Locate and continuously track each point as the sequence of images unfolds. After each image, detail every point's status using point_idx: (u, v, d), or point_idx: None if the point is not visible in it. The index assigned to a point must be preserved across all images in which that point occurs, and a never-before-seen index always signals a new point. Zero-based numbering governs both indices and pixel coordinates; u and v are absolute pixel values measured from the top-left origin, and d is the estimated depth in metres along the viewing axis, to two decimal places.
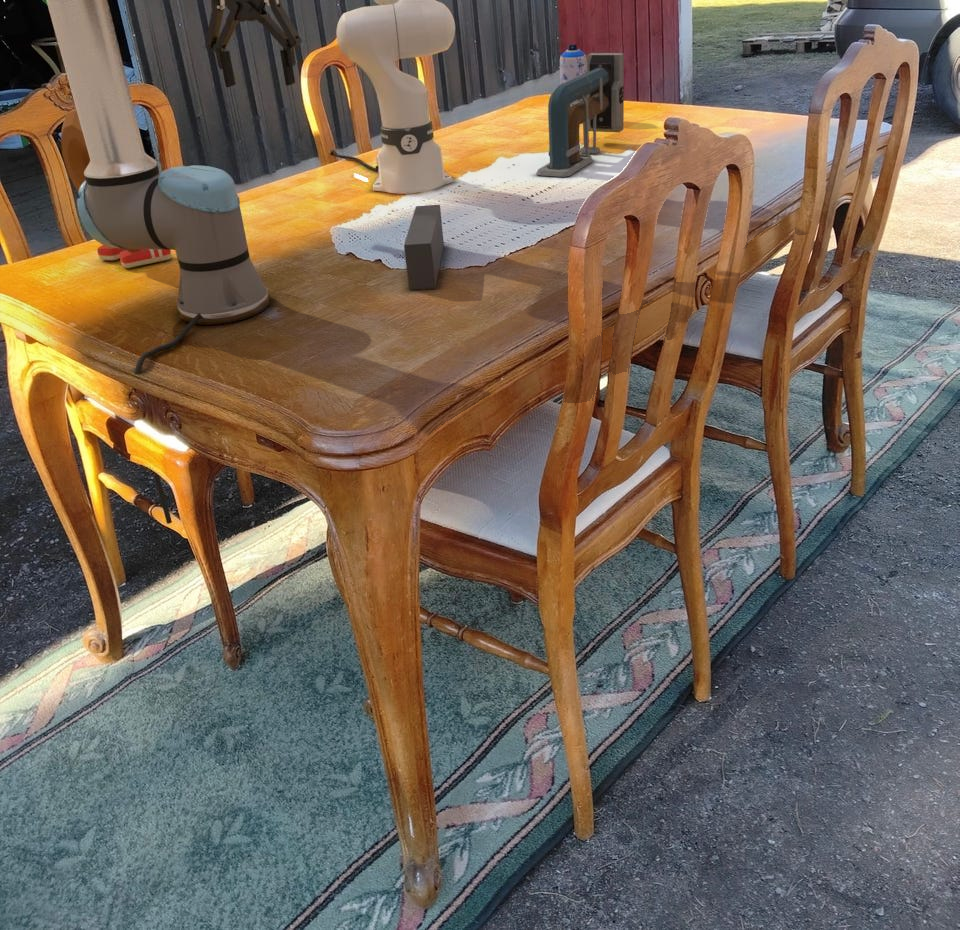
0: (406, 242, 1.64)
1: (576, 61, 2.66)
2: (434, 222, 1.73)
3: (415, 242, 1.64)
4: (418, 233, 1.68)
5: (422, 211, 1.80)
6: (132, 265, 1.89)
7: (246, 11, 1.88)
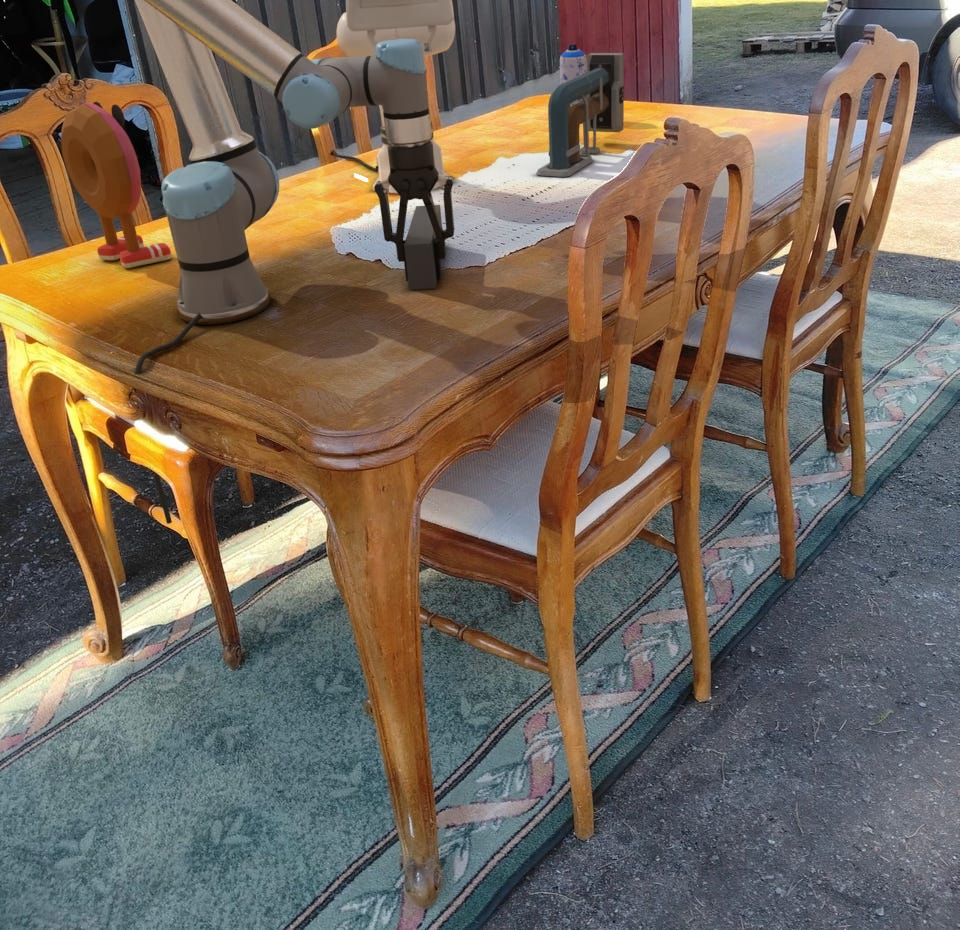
0: (406, 242, 1.64)
1: (576, 61, 2.66)
2: None
3: (416, 242, 1.64)
4: (418, 233, 1.68)
5: (422, 211, 1.80)
6: (132, 265, 1.89)
7: (416, 189, 1.62)
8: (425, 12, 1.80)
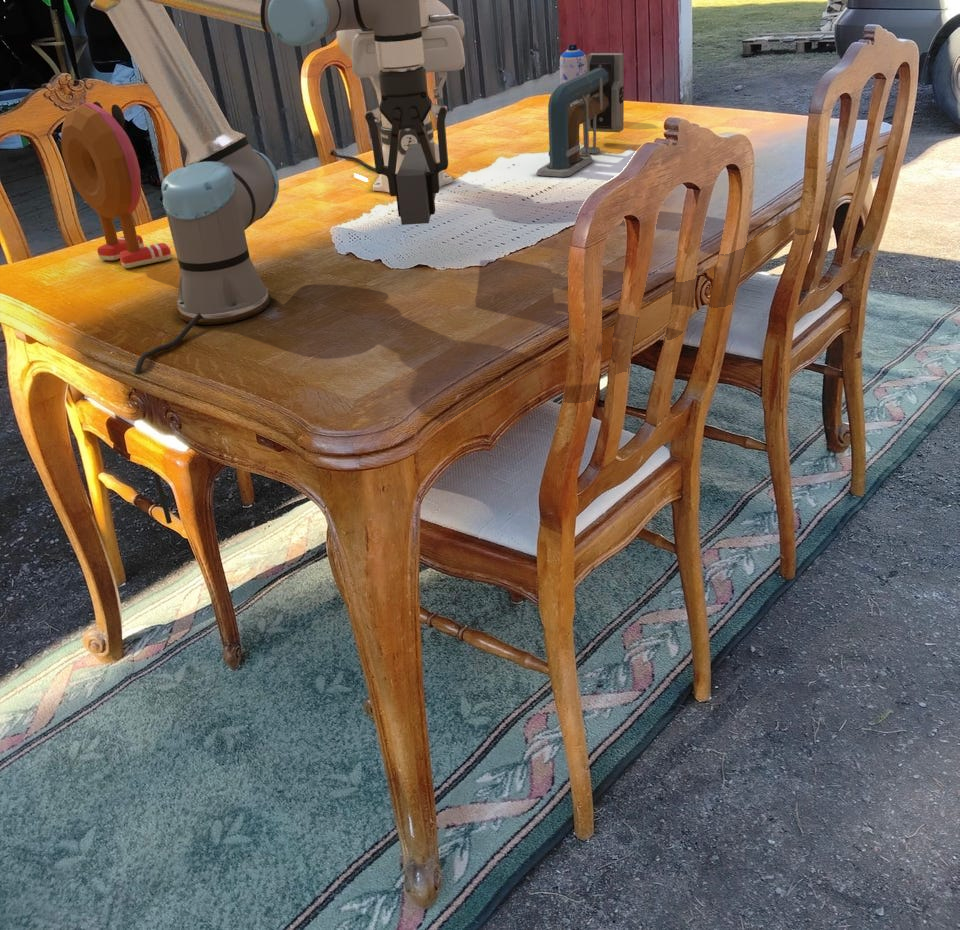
0: (398, 174, 1.58)
1: (576, 61, 2.66)
2: None
3: (408, 173, 1.58)
4: (411, 166, 1.62)
5: (415, 148, 1.74)
6: (132, 265, 1.89)
7: (409, 118, 1.56)
8: (435, 57, 1.71)
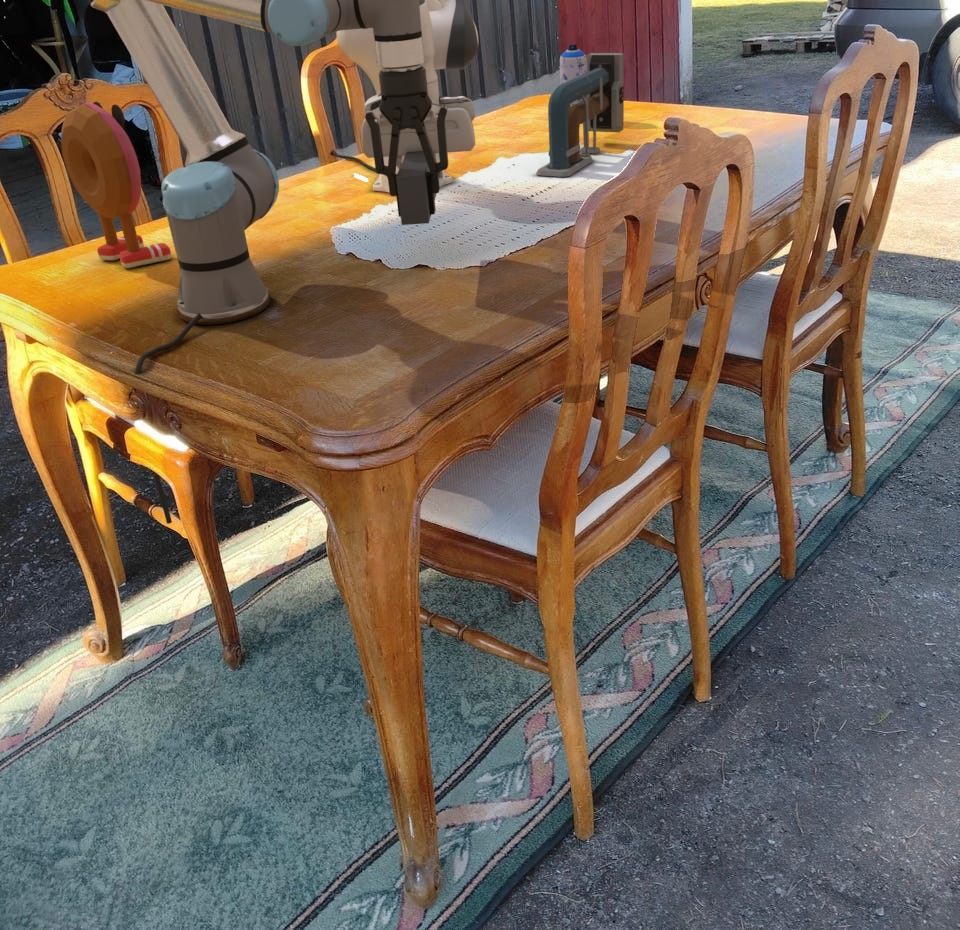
0: (398, 174, 1.58)
1: (576, 61, 2.66)
2: None
3: (408, 174, 1.58)
4: (411, 166, 1.62)
5: None
6: (132, 265, 1.89)
7: (409, 118, 1.56)
8: (446, 138, 1.71)
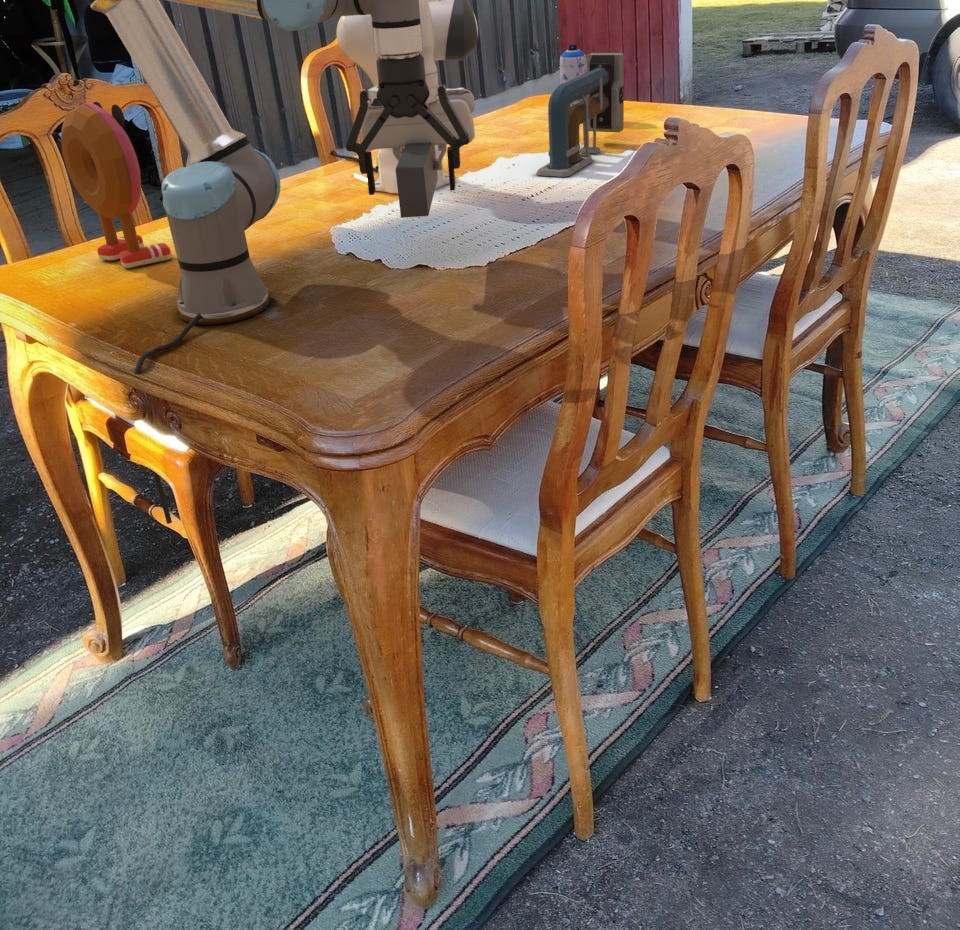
0: (398, 167, 1.58)
1: (576, 61, 2.66)
2: (427, 149, 1.67)
3: (407, 166, 1.58)
4: (411, 159, 1.62)
5: None
6: (132, 265, 1.89)
7: (406, 106, 1.55)
8: None
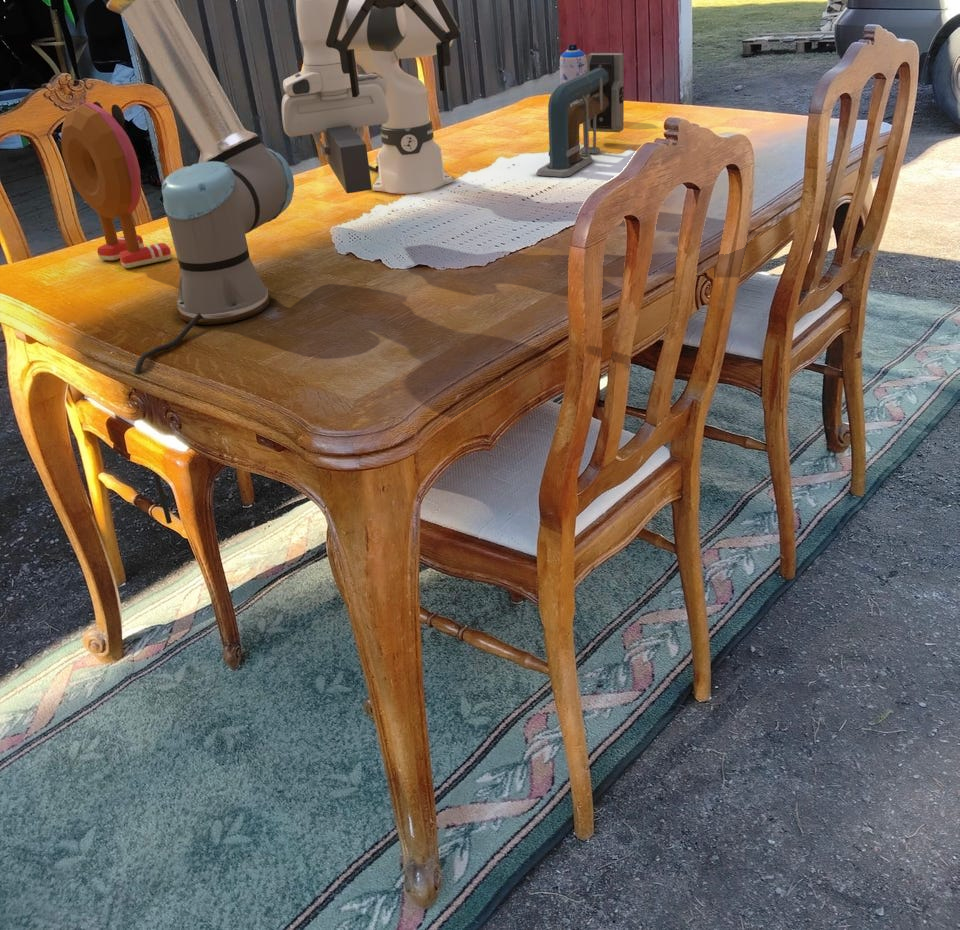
0: (340, 145, 1.70)
1: (576, 61, 2.66)
2: (353, 130, 1.79)
3: (350, 144, 1.70)
4: (346, 139, 1.74)
5: None
6: (132, 265, 1.89)
7: None
8: (363, 113, 1.83)
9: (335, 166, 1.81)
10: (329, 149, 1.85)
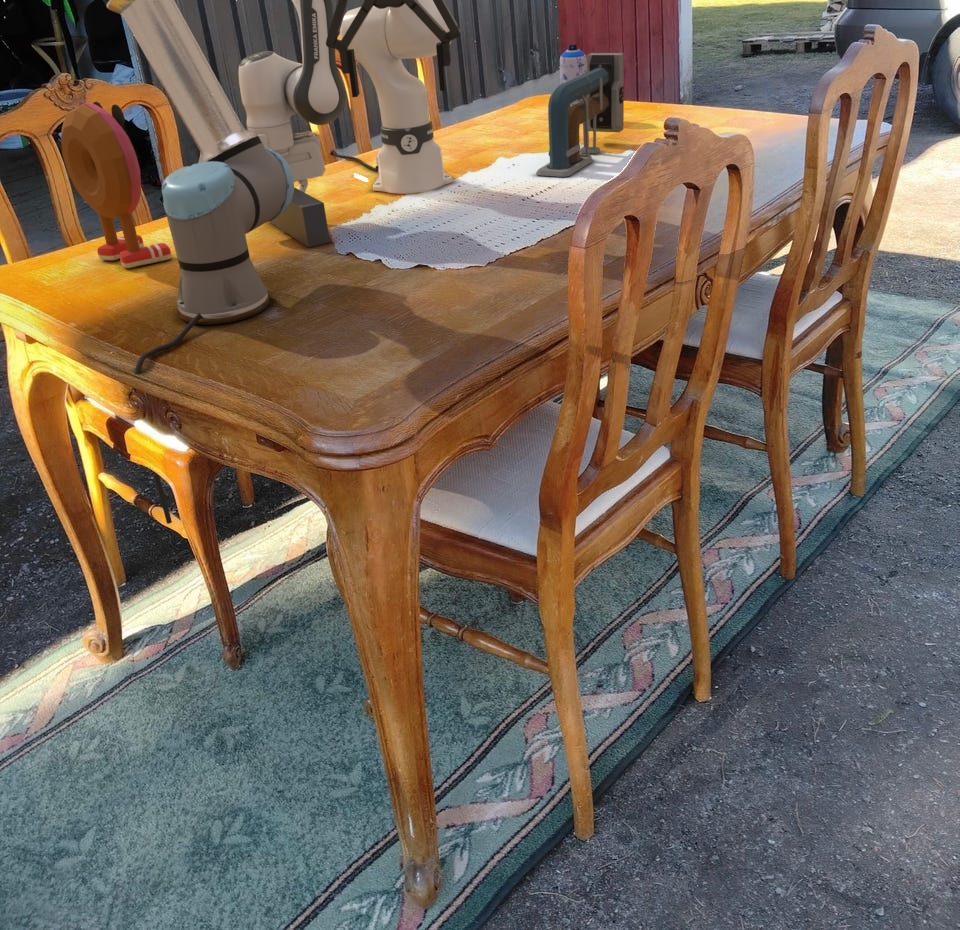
0: (301, 205, 1.89)
1: (576, 61, 2.66)
2: (301, 191, 1.99)
3: (309, 204, 1.90)
4: (300, 199, 1.94)
5: None
6: (132, 265, 1.89)
7: None
8: (303, 168, 2.02)
9: (286, 224, 2.00)
10: None
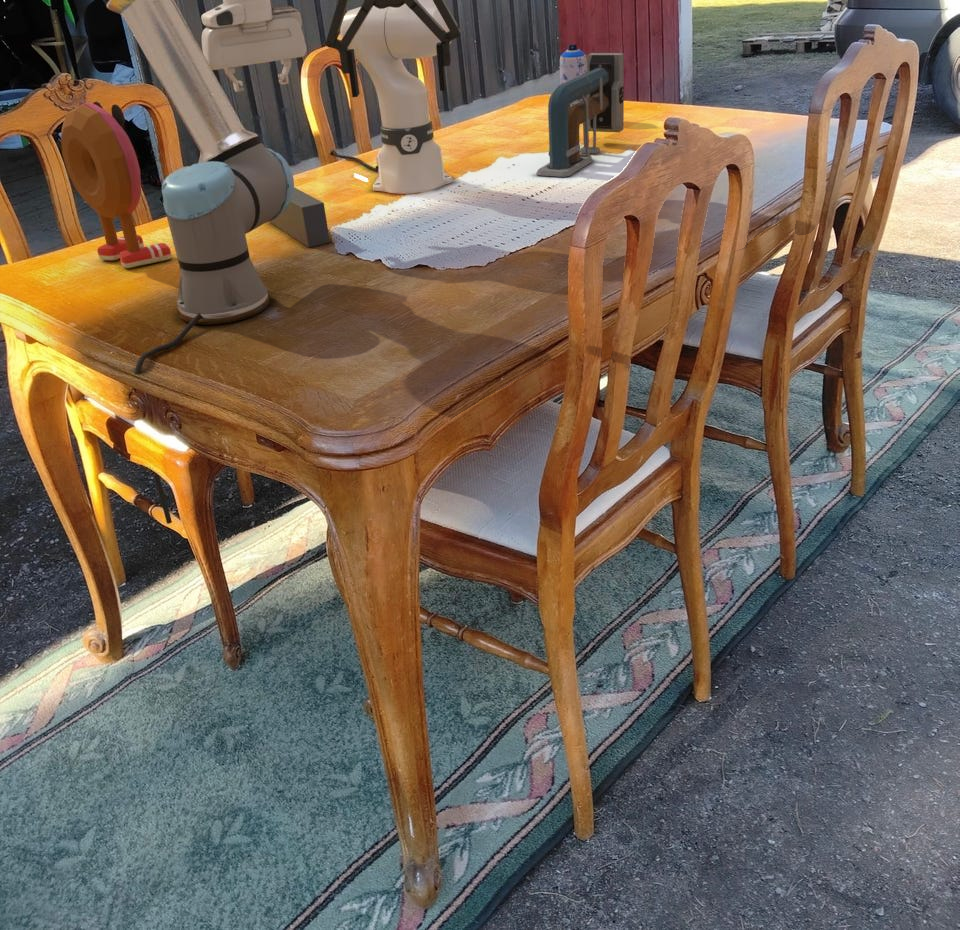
0: (301, 205, 1.89)
1: (576, 61, 2.66)
2: (301, 191, 1.99)
3: (309, 204, 1.90)
4: (300, 199, 1.94)
5: None
6: (132, 265, 1.89)
7: None
8: (282, 46, 1.90)
9: (286, 224, 2.00)
10: None
